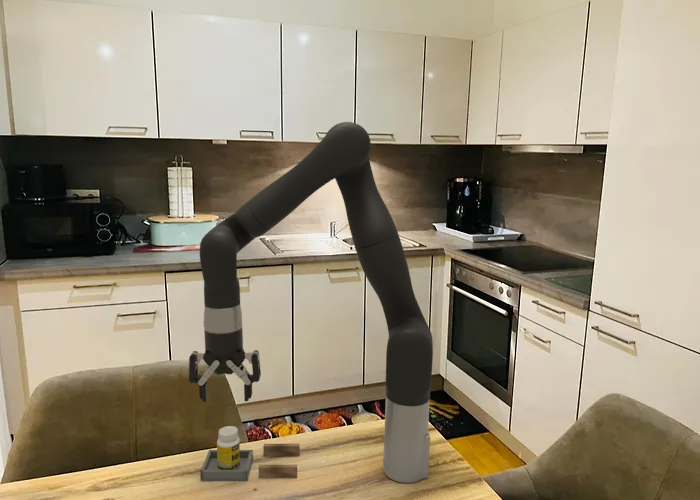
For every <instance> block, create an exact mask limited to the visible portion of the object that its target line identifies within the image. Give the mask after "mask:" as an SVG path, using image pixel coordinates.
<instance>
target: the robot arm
mask: <svg viewBox="0 0 700 500" xmlns="http://www.w3.org/2000/svg"><path fill="white" fill-rule="evenodd" d="M371 147H372V142H371V139H370V135H369V134H368V132H367V130H366V129H365V128H364V127H363V126H362V125H360V124H358V123H356V122H352V121H344V122H339V123H337V124H334V125H333V126H332V127H330V129H328V131H327V132H326V133H325V136H324V137H323V138H322V139H321V140H320V141H319V142H318V143H317V144H316V145H315V147H314V148H313V149H312V150H311V151H309V153H308V154H307V155H306V156H305V157H304V158H303V159H302V160H300V161H299V162H298V163H296V164H295V165H294V166H293V167H292V168H291V169H289V170H288V171H286V172H285V173H284V174H282V175H281V176H280V177H279V178H277V179H275V180H274V181H273V182H271V183H270V184H268V185H267V186H265V187H264V188H263V189H262V190H260V191H259V192H258V193H256V194H255V195H253V196H252V197H251V198H250V199H249V200H247V201H246V202H245V203H244V204H243V205H241V207H239V208H238V210H236V212H234V213H233V214H231V215H230V216H228V217H226V218H225V219H224V220H223V221H220V223H218V224H217V225H215V226H214V227H213V228H211V229H210V230H209V231H208V232H207V233H206V234H204V236H203V237H202V238H201V241H200V242H199V260H200V268H201V275H202V278H203V300H204V301H203V302H204V311H203V329H204V349H205V351H204V352H203V353H202V352H198V351H197V350H194V351H192V352H191V354H190V356H189V357H188V358H189V360H188V365H189V367H188V373H189V374H188V381H189V382H190V383H191V384H194V383H195V384H197V385H198V388H199V389H198V391H199V399H200V400H202V402H203V403H207V402H208V400H209V381H208V379H210V377H211V376H212V374H213V373H214V374H216V375H224V374H225V375H233V374H235V375H236V376H237V377H238V378H239V379H241V381H242V382H243V383H244V384H243V390H244V391H243V395H244V397H243V398H244V402H249V399H251V398H252V396H253V384H254V383H258V382H259V381H260V379H261V375H262V373H261V363H260V353H259V350H257V349H254V350H253V351H251V352H245V350H244V341H243V339H244V338H243V337H244V335H243V332H244V331H243V313H242V307H241V288H240V280H239V278H238V273H237V272H238V268H237V267H238V265H237V263H238V262H237V260H238V259H237V258H238V257H237V256H238V253H239V252H240V251H241V250H243V249H244V248H245V247H246V246H248V245H249V244H250V243H251V242H252V241H254V240H255V239H256V238H260V237H261V236H264V235H265V234H267V232H269V231H270V230H272V229H273V228H274V227H276V225H278V224H279V223H280V222H282V221H283V220H284V219H285V218H287V217H288V216H289V215H290V214H292V213H293V212H294V211H295V210H296V209H297V208H298V207H299V206H301V205H302V204H303V203H304V201H306V200H307V199H308V198H310V197H311V196H312V195H313V194H315V192H317V191H318V190H319V189H320V188H322V187H324V186H325V185H326V184H328V183H330V182H331V181H333V180H335V182H336V184H337V186H338V189H339V192H340V194H341V197H342V199H343V202H344V207H345V212H346V217H347V222H348V226H349V230H350V235H351V238H352V242H353V246H354V248H355V252H356V255H357V257H358V258H357V259H358V261H359V263H360V266H361V269H362V271H363V273H364V275H365V277H366V279H367V281H368V282H369V284H370V286H371V287H372V289H373V290H374V292H375V294H376V296H377V298H378V299H379V301H380V304H381V307H382V310H383V313H384V317H385V322H386V327H387V331H388V340H387V344H386V351H385V352H386V357H385V404H384V405H385V411H384V434H383V435H384V437H383V439H384V440H383V458H382V459H383V460H382V463H383V468H382V470H383V473H384V474H385V475H386V476H387V478H389V479H391V480H393V481H395V482H397V483H405V484H410V483H411V484H412V483H416V482H419V481H422V480H424V479H428V478H429V467H430V447H431V436H430V433H429V423H430V422H429V420H430V403H431V402H430V401H431V390H432V389H431V388H432V376H433V374H432V373H433V357H434V345H433V344H434V343H433V335H432V331H431V328H430V327H429V325H428V323H427V321H426V319H425V317H424V314H423V312H422V309H421V307H420V306H419V303H418V300H417V298H416V296H415V291H414V289H413V288H414V287H413V285H412V279H411V274H410V270H409V265H408V261H407V257H406V255H405V254H406V253H405V250H404V246H403V243H402V241H401V238H400V234H399V232H398V229H397V227H396V224H395V222H394V219H393V217H392V215H391V213H390V211H389V209H388V207H387V205H386V204H385V201H384V200H383V198H382V195H381V194H380V191H379V189H378V187H377V184H376V181H375V177H374V174H373V169H372V165H371V160H370V152H371ZM202 360H203V362H204V363H205V364H206V365H207V366H208V367H207V368H206V369H205V371H204V372H203V373H202V375H201V374H199V364H200V363H201V362H202ZM245 360H247V361H248V363H249V364H251V368H252V374H251V373H250V372H249V371H248V369H247V367H246V365H244V364H243V362H244V361H245Z"/></svg>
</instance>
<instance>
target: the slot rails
mask: <svg viewBox="0 0 700 500" xmlns="http://www.w3.org/2000/svg"><path fill="white" fill-rule="evenodd" d="M300 447H301V446H300V443H263V450H262V451H263V452H262V453H263V456H262V457H300V450H301V448H300ZM258 479H298V464H297V463H296V464H258Z"/></svg>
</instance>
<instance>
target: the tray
mask: <svg viewBox="0 0 700 500" xmlns="http://www.w3.org/2000/svg"><path fill="white" fill-rule="evenodd" d="M253 460H254V449H240V466H239V468H238V469H237V470H218V467H217V449H209V450H208V452H207V454H206V457H205V459H204V461H203V463H202V467H201V469H200V472H199V474H200V482H248V480H249V476H250V473H251V472H250V471H251V468H252V464H253Z"/></svg>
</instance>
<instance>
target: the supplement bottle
mask: <svg viewBox="0 0 700 500" xmlns="http://www.w3.org/2000/svg"><path fill="white" fill-rule="evenodd" d="M240 441H241V440H240V437H239V430H238V427H236V426H234V425H233V426H232V425H227V426H226V425H225V426H224V427H221V428H219V430H218V439H217V441H216V450H217V467H218V470H237V469H238V468H239V466H240V450H241V449H240V448H241V445H240V444H241V442H240Z"/></svg>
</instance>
